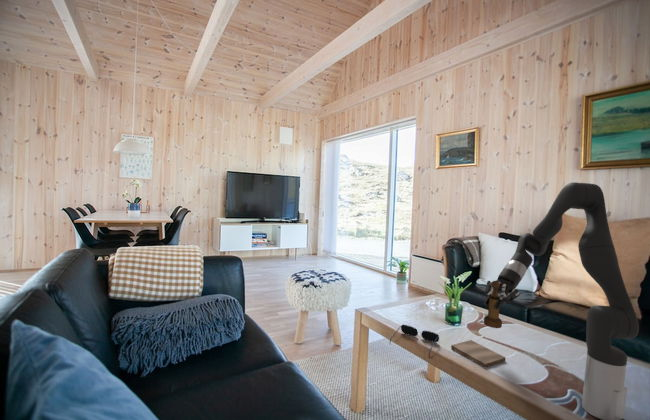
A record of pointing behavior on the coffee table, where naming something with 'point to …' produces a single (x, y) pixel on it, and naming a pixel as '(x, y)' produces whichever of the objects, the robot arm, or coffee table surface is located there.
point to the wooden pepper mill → (493, 309)
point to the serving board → (478, 353)
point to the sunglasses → (413, 331)
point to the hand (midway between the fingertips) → (490, 306)
